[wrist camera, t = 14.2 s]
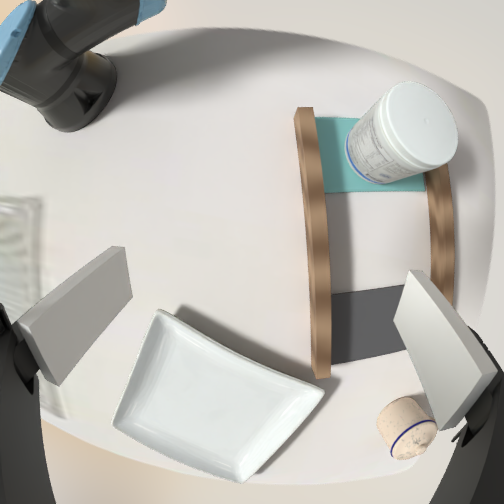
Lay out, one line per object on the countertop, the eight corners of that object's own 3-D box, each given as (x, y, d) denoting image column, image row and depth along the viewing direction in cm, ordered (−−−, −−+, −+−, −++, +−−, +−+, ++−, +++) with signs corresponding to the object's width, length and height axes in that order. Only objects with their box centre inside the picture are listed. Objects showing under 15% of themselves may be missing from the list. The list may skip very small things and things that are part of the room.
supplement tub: (382, 116, 34) (432, 74, 20) (410, 173, 35) (472, 152, 20) (330, 134, 35) (368, 87, 20) (359, 195, 36) (415, 179, 21)
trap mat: (328, 294, 37) (329, 295, 37) (427, 280, 37) (428, 281, 37) (328, 363, 38) (329, 365, 38) (422, 344, 38) (423, 344, 37)
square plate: (323, 379, 39) (329, 392, 35) (242, 473, 41) (242, 486, 37) (164, 300, 38) (155, 308, 34) (116, 415, 40) (108, 427, 36)
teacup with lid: (368, 434, 40) (388, 474, 28) (383, 397, 39) (411, 436, 27) (417, 426, 40) (441, 459, 28) (433, 391, 39) (464, 421, 27)
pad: (312, 118, 35) (313, 117, 35) (412, 124, 35) (413, 123, 34) (322, 193, 36) (323, 192, 36) (423, 191, 36) (424, 190, 35)
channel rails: (293, 118, 35) (297, 107, 31) (425, 126, 35) (437, 119, 31) (311, 366, 38) (316, 379, 34) (434, 340, 38) (446, 348, 34)
